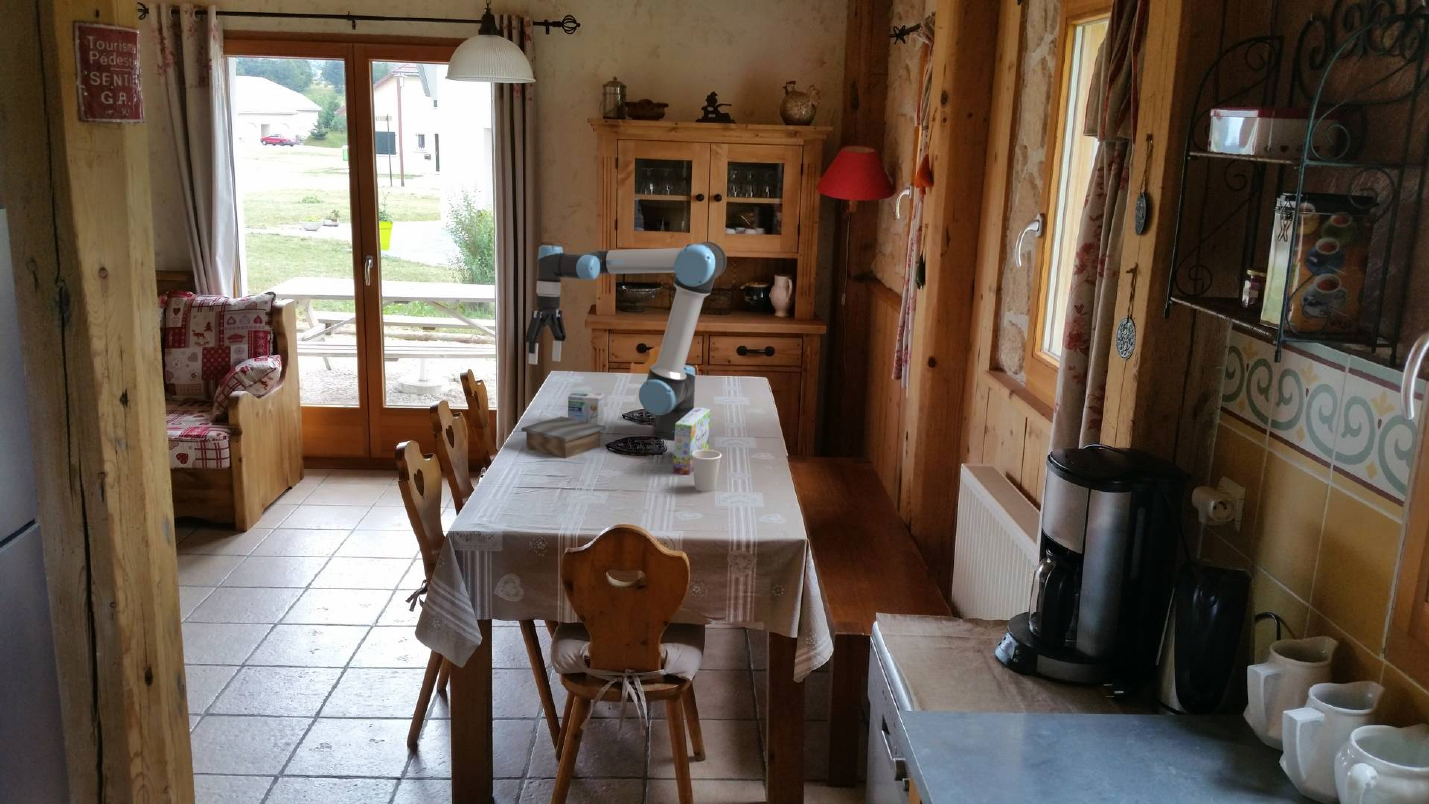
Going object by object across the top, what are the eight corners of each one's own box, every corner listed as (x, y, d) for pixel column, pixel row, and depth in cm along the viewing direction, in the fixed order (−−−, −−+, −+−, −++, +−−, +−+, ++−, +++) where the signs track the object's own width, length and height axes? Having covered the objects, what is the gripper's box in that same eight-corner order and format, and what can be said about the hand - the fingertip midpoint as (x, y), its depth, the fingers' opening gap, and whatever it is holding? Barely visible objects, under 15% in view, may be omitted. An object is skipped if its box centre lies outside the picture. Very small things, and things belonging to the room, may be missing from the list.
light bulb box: (567, 427, 355) (567, 395, 352) (573, 422, 361) (573, 391, 359) (598, 430, 353) (599, 398, 351) (604, 424, 360) (604, 393, 357)
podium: (605, 446, 335) (605, 426, 334) (565, 459, 321) (565, 438, 319) (561, 435, 345) (561, 416, 343) (521, 448, 330) (521, 427, 329)
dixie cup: (709, 495, 294) (711, 460, 291) (684, 489, 298) (685, 454, 296) (725, 487, 301) (727, 453, 298) (700, 481, 305) (701, 447, 303)
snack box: (690, 475, 310) (692, 425, 306) (671, 473, 311) (673, 423, 308) (709, 455, 330) (711, 407, 326) (691, 453, 331) (693, 406, 328)
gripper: (559, 293, 351) (555, 358, 354) (515, 294, 329) (512, 363, 332) (578, 295, 348) (575, 361, 351) (536, 296, 326) (532, 366, 329)
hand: (544, 362), depth 341 cm, fingers open, 13 cm apart
